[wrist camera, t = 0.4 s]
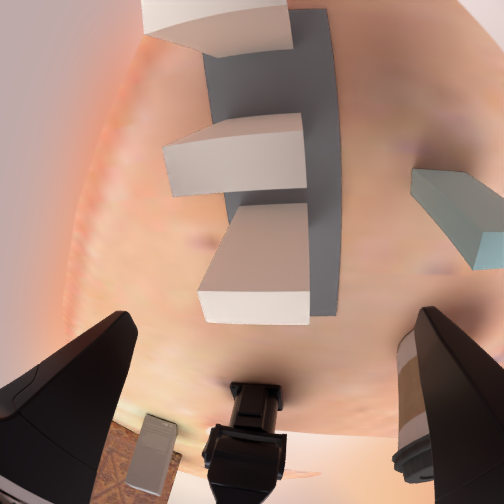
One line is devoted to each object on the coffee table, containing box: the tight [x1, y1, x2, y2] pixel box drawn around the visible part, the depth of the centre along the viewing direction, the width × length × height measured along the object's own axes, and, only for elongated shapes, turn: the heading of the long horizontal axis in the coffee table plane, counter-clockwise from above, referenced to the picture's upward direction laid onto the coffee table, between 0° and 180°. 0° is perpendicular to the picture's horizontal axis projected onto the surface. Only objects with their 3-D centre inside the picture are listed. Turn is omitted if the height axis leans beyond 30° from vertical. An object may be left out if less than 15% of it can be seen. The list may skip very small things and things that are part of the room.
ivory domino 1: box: [162, 113, 307, 197], centre depth 14 cm, size 2×5×10 cm, turn 97°
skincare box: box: [124, 414, 177, 496], centre depth 42 cm, size 8×7×16 cm
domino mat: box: [203, 9, 341, 316], centre depth 20 cm, size 25×8×1 cm, turn 7°
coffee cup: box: [392, 330, 434, 483], centre depth 20 cm, size 11×11×15 cm
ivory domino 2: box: [197, 203, 310, 325], centre depth 17 cm, size 2×5×10 cm, turn 97°
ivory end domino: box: [141, 0, 293, 58], centre depth 11 cm, size 2×5×10 cm, turn 97°
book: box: [90, 421, 182, 504], centre depth 46 cm, size 25×9×30 cm, turn 55°
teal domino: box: [411, 169, 504, 270], centre depth 14 cm, size 2×5×10 cm, turn 97°
